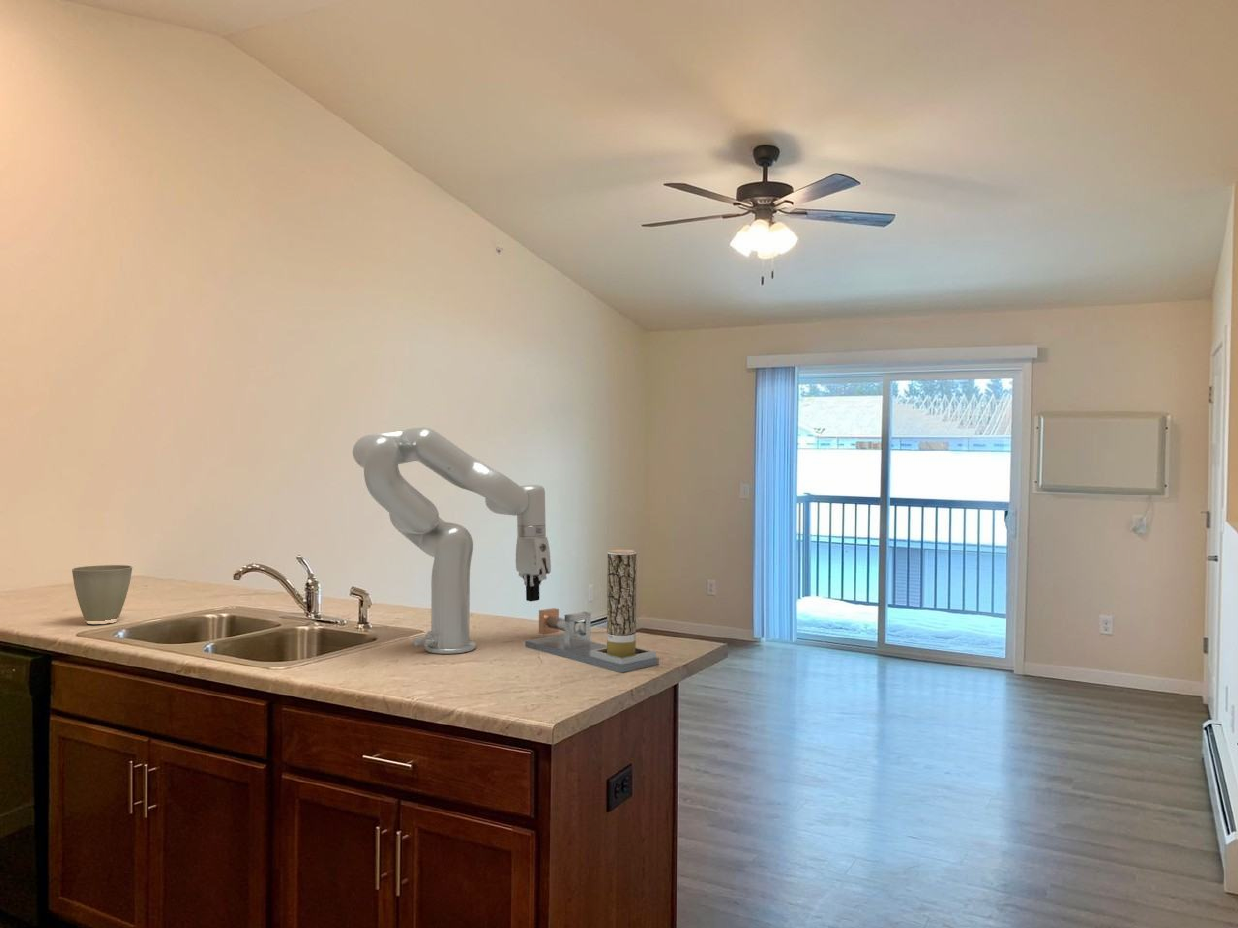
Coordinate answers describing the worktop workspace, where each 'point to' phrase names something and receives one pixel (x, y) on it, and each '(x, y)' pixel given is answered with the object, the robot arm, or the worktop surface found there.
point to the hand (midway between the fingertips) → (532, 600)
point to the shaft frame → (590, 648)
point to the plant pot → (101, 590)
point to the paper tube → (621, 603)
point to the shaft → (556, 622)
